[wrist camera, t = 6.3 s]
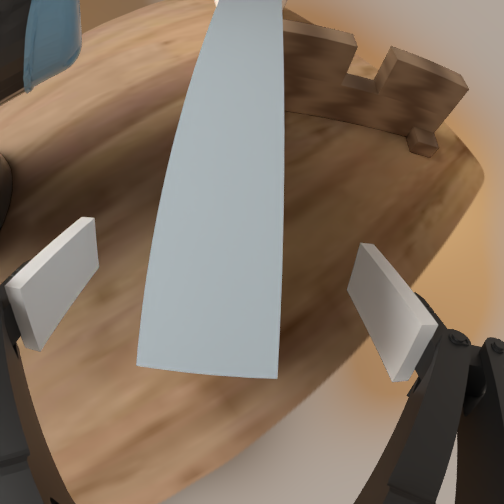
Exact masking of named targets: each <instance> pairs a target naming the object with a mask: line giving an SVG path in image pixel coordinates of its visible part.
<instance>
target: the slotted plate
mask: <svg viewBox="0 0 504 504" xmlns="http://www.w3.org/2000/svg"><path fill="white" fill-rule="evenodd" d="M283 216H284V55H283V17H282V0H219V2H218V4H217V7H216V9H215V12H214V14H213V17H212V20H211V22H210V25H209V28H208V31H207V33H206V36H205V39H204V42H203V45H202V48H201V51H200V54H199V57H198V60H197V63H196V66H195V69H194V72H193V75H192V78H191V82H190V85H189V88H188V92H187V95H186V98H185V102H184V105H183V109H182V112H181V116H180V120H179V123H178V127H177V131H176V135H175V138H174V142H173V146H172V150H171V154H170V159H169V163H168V167H167V171H166V176H165V180H164V185H163V189H162V194H161V199H160V204H159V209H158V214H157V219H156V224H155V229H154V235H153V240H152V246H151V252H150V258H149V264H148V271H147V277H146V284H145V291H144V299H143V306H142V315H141V323H140V332H139V342H138V353H137V364H136V366H142V367H148V368H155V369H163V370H170V371H179V372H187V373H197V374H207V375H219V376H232V377H248V378H271V379H277V376H278V357H279V337H280V314H281V289H282V258H283Z"/></svg>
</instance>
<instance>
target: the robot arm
mask: <svg viewBox="0 0 504 504" xmlns="http://www.w3.org/2000/svg"><path fill="white" fill-rule="evenodd" d="M81 47H82V34H81V18H80V1H79V0H0V106H1V105H3V104H5V103H6V102H8V101H10V100H12V99H13V98H15V97H17V96H19V95H21V94H23V93H24V92H26V94H27V93H29V92H31V90H33V88H34V87H35V86H36V85H38V84H40V83H42V82H44V81H45V80H47V79H49V78H51V77H53V76H55V75H57V74H59V73H61V72H63V71H65V70H66V69H68V68H69V67H70V66H71V65H72V64H73V63H74V62H75V61H76V59H77V58H78V56H79V54H80V51H81ZM11 192H12V174H11V169H10V167H9V164H8V163H7V161H6V160H5V159H4V157H3V156H2V155H1V154H0V229H1V226H2V224H3V222H4V219H5V216H6V213H7V210H8V207H9V203H10V198H11ZM98 268H99V262H98V253H97V242H96V230H95V218H90V217H81V218H80V219H78V220H77V221H76V222H75V223H73V224H72V225H71V226H70V227H69V228H67V229H66V230H65V231H64V232H63V233H61V234H60V235H59V236H58V237H57V238H56V239H54V240H53V241H52V242H51V243H50V244H49V245H47V246H46V247H45V248H44V249H43V250H42V251H41V252H40V253H38V254H37V255H36V256H35V257H34V258H32V259H30V260H28V261H27V262H25V263H23V264H22V265H21V266H20V267H19V268H18V269H17V271H14V272H13V273H12V274H11V276H9V277H8V278H7V279H6V280H5V281H4V282H3V283H2V284H1V285H0V504H75V502H74V501H73V500H72V498H71V496H70V495H69V493H68V491H67V489H66V487H65V485H64V483H63V481H62V478H61V476H60V474H59V472H58V470H57V467H56V465H55V463H54V461H53V458H52V456H51V453H50V451H49V448H48V446H47V443H46V441H45V438H44V435H43V433H42V430H41V427H40V424H39V421H38V418H37V415H36V412H35V409H34V406H33V403H32V399H31V396H30V392H29V389H28V385H27V381H26V377H25V373H24V369H23V365H22V361H21V356H20V352H19V348H18V345H17V343H16V341H17V340H18V339H19V337H20V336H21V338H22V340H23V343H24V345H25V347H26V348H29V349H32V350H36V351H41V350H42V348H43V347H44V345H45V344H46V342H47V340H48V339H49V337H50V336H51V334H52V333H53V331H54V330H55V328H56V327H57V325H58V324H59V322H60V321H61V319H62V318H63V316H64V315H65V314H66V312H67V311H68V309H69V308H70V306H71V305H72V304H73V302H74V301H75V299H76V298H77V297H78V295H79V294H80V292H81V291H82V290H83V288H84V287H85V286H86V284H87V283H88V281H89V280H90V279H91V277H92V276H93V275H94V273H95V272H96V271H97V270H98ZM347 291H348V293H349V295H350V297H351V299H352V301H353V303H354V305H355V307H356V309H357V311H358V313H359V315H360V317H361V319H362V321H363V323H364V325H365V327H366V329H367V331H368V333H369V335H370V337H371V338H372V341H373V343H374V345H375V346H376V349H377V351H378V353H379V355H380V357H381V359H382V362H383V364H384V366H385V368H386V370H387V372H388V374H389V377H390V379H391V381H392V382H399V381H408V380H409V378H410V377H411V375H412V373H413V371H414V370H416V372H417V374H418V378H417V380H416V381H415V383H414V385H413V386H412V388H411V389H410V391H409V393H408V394H407V396H408V397H409V398H408V401H407V403H406V405H405V408H404V410H403V412H402V414H401V417H400V419H399V421H398V423H397V425H396V428H395V430H394V432H393V434H392V436H391V438H390V440H389V442H388V444H387V446H386V448H385V450H384V452H383V454H382V456H381V458H380V460H379V461H378V463H377V465H376V467H375V469H374V471H373V472H372V474H371V476H370V478H369V480H368V481H367V483H366V484H365V486H364V488H363V489H362V491H361V493H360V494H359V496H358V498H357V499H356V501H355V502H354V504H436V503H435V502H436V498H437V496H438V493H439V490H440V488H441V485H442V482H443V479H444V476H445V473H446V470H447V466H448V463H449V460H450V456H451V452H452V449H453V446H454V441H455V438H456V434H457V442H458V443H457V444H458V452H457V482H456V497H455V504H504V342H503V341H501V340H500V339H496V338H491V337H490V338H487V339H486V340H485V342H484V344H483V346H482V347H479V346H474V345H471V342H470V340H469V339H468V338H467V337H466V336H465V335H464V334H463V333H461V332H459V331H457V330H454V329H447V328H446V326H445V325H444V324H443V322H442V321H441V320H440V319H439V317H438V316H437V315H436V313H434V311H433V309H432V308H431V307H430V306H429V304H428V303H427V302H426V301H425V299H424V298H422V297H421V296H420V295H418V294H417V293H415V292H413V291H412V290H411V288H410V287H409V286H408V285H407V283H406V282H405V281H404V280H403V279H402V277H401V276H400V275H399V274H398V272H397V271H396V270H395V269H394V268H393V266H392V265H391V264H390V263H389V262H388V260H387V259H386V258H385V257H384V256H383V255H382V253H381V252H380V251H379V250H378V249H377V248H376V246H375V245H374V244H368V243H360V245H359V249H358V253H357V256H356V260H355V264H354V267H353V271H352V274H351V278H350V281H349V284H348V288H347Z"/></svg>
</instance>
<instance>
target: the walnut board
mask: <svg viewBox="0 0 504 504" xmlns="http://www.w3.org/2000/svg"><path fill="white" fill-rule="evenodd" d="M356 50H357V44H356V41H355V38H354V35H353V34H350V33H347V32H343V31H339V30H335V29H331V28H326V27H322V26H317V25H312V24H307V23H302V22H297V21H291V20H285V19H283V55H284V111H289V112H296V113H302V114H308V115H314V116H319V117H325V118H330V119H335V120H340V121H345V122H349V123H354V124H358V125H363V126H367V127H371V128H375V129H379V130H383V131H387V132H391V133H395V134H398V135H402V136H405V137H406V139H407V142H408V146H409V150H410V152H413V153H416V154H420V155H423V156H427V157H431V156H432V155H433V154H434V153H435V152H436V151H437V150H438V148H439V147H438V144H437V141H436V138H435V135H434V132H435V131H436V130H437V129H438V127H439V126H440V125H441V124H442V122H443V121H444V120H445V119H446V118H447V116H448V115H449V114H450V113H451V111H452V110H453V109H454V108H455V106H456V105H457V104H458V102H459V101H460V100H461V99H462V98H463V96H464V95H465V94H466V92H467V91H468V90H469V88H468V86H467V85H466V83H465V81H464V79H463V78H462V76H461V75H460V74H458V73H456V72H454V71H452V70H449V69H447V68H445V67H443V66H441V65H438V64H436V63H434V62H431V61H429V60H427V59H424V58H422V57H419V56H417V55H414V54H411V53H409V52H407V51H404V50H401V49H398V48H396V47H393V46H391V47H390V49H389V51H388V53H387V55H386V57H385V59H384V61H383V63H382V65H381V67H380V69H379V71H378V73H377V75H376V77H375V79H374V80H371V79H367V78H363V77H360V76H356V75H352V74H348V73H347V71H348V68H349V66H350V64H351V61H352V59H353V57H354V54H355V52H356Z"/></svg>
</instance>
